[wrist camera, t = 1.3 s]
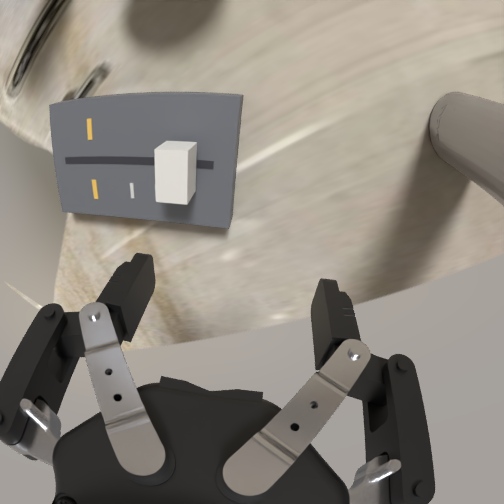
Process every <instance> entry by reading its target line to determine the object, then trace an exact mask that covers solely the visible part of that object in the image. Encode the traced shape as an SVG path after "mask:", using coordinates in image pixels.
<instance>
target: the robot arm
mask: <svg viewBox="0 0 504 504" xmlns="http://www.w3.org/2000/svg"><path fill="white" fill-rule="evenodd" d="M429 129H430V138H431V142H432V145H433V147H434V149H435V151H436V152H437V154H438V155H439V156H440V157H441V158H442V160H444V161H445V162H447V163H448V164H450V165H451V166H453V167H454V168H455V169H457V170H458V171H460V172H461V173H462V174H464V175H465V176H466V177H468V178H469V179H470V180H472V181H473V182H474V183H476V184H477V185H478V186H480V187H481V188H482V189H484V190H485V191H486V192H487V193H489V194H490V195H491V196H492V197H494V198H495V199H496V200H497V201H498V202H500V203H501V204H502V205H503V206H504V104H501V103H498V102H494V101H491V100H488V99H484V98H481V97H477V96H473V95H469V94H465V93H460V92H452V93H449V94H446V95H445V96H444V97H442V98H441V99H440V100H439V101H438V102H437V103H436V105H435V107H434V109H433V111H432V114H431V117H430V125H429ZM154 288H155V273H154V264H153V257H152V255H149V254H142V253H136V254H135V255H134V257H133V259H132V260H131V262H124V263H123V264H122V265H120V266H119V267H118V268H117V269H116V271H115V272H114V274H113V276H112V277H111V278H110V280H109V282H108V283H107V285H106V286H105V288H104V289H103V291H102V293H101V294H100V296H99V297H98V299H97V301H96V302H93V303H89V304H87V305H85V306H84V307H83V308H82V309H81V311H80V312H64V311H63V308H62V307H61V306H60V305H59V304H55V303H52V304H48V305H46V306H44V307H43V308H41V309H40V311H39V312H38V314H37V315H36V317H35V319H34V320H33V322H32V324H31V325H30V327H29V329H28V330H27V332H26V334H25V336H24V337H23V339H22V341H21V343H20V345H19V346H18V348H17V350H16V352H15V354H14V355H13V357H12V359H11V361H10V363H9V365H8V367H7V369H6V371H5V373H4V375H3V377H2V380H1V381H0V440H1V441H2V442H3V443H5V444H6V445H7V446H9V447H10V448H12V449H13V450H15V451H16V452H18V453H20V454H22V455H24V456H26V457H27V458H29V459H31V460H40V461H42V462H44V463H46V464H49V465H51V466H53V468H54V473H55V480H56V493H55V498H54V501H53V503H52V504H428V503H429V502H430V501H431V500H432V498H433V496H434V493H435V480H434V470H433V461H432V452H431V445H430V438H429V432H428V426H427V420H426V415H425V410H424V405H423V400H422V395H421V391H420V386H419V381H418V377H417V373H416V369H415V366H414V363H413V362H412V361H411V359H409V358H408V357H407V356H405V355H402V354H395V355H393V356H391V357H390V358H389V359H388V360H387V359H384V358H381V357H378V356H375V355H373V354H371V353H370V350H369V348H368V347H367V345H366V344H364V343H363V342H361V339H360V334H359V330H358V326H357V322H356V317H355V313H354V310H353V305H352V301H351V299H350V298H349V296H348V295H347V294H346V292H340V291H339V288H338V284H337V281H336V280H330V279H322V278H321V279H320V281H319V283H318V286H317V289H316V292H315V295H314V298H313V301H312V305H311V322H312V332H313V343H314V355H315V368H316V370H320V371H319V372H316V373H315V374H314V375H313V376H312V377H311V378H310V379H309V380H308V381H307V383H306V384H305V385H304V386H303V387H302V388H301V389H300V390H299V392H298V393H297V394H296V395H295V396H294V397H293V398H292V399H291V400H290V401H289V402H288V404H287V405H286V406H285V407H284V408H283V409H281V408H279V407H278V406H276V405H275V404H273V403H271V402H269V401H267V400H264V399H262V397H263V392H257V391H248V390H240V389H235V390H222V391H208V390H206V389H203V388H201V387H198V386H196V385H194V384H191V383H189V382H187V381H183V380H177V379H173V378H168V377H163V376H161V379H160V383H151V384H147V385H143V386H140V387H138V388H136V386H135V383H134V381H133V378H132V376H131V373H130V371H129V368H128V366H127V363H126V361H125V358H124V355H123V352H122V349H121V344H122V341H123V340H124V341H128V342H131V341H132V338H133V336H134V334H135V331H136V329H137V327H138V325H139V322H140V320H141V318H142V316H143V313H144V311H145V309H146V307H147V305H148V302H149V300H150V298H151V296H152V294H153V292H154ZM80 357H85V358H86V362H87V366H88V369H89V374H90V377H91V381H92V384H93V388H94V391H95V395H96V398H97V401H98V404H99V407H100V410H101V412H99V413H97V414H96V415H94V416H93V417H91V418H90V419H88V420H86V421H85V422H83V423H82V424H80V425H79V426H77V427H75V428H74V429H72V430H70V431H69V432H67V433H66V434H64V435H63V436H62V437H60V434H61V432H60V430H61V422H60V419H59V418H58V416H57V413H58V411H59V408H60V405H61V402H62V400H63V397H64V394H65V392H66V389H67V387H68V384H69V382H70V379H71V376H72V374H73V372H74V369H75V367H76V364H77V362H78V360H79V358H80ZM346 395H347V396H350V397H353V398H356V399H359V400H362V403H363V415H364V428H365V429H364V430H365V449H366V464H364V465H362V466H361V467H360V468H359V469H358V470H357V472H356V474H355V478H354V482H353V485H352V486H351V488H350V489H349V490H348V489H347V487H346V485H345V483H344V482H343V481H342V480H341V479H340V477H339V476H338V475H337V474H336V473H335V472H334V471H333V469H332V468H331V467H330V466H329V465H328V464H327V462H325V460H324V459H323V458H322V457H321V456H320V454H319V453H318V452H317V451H316V450H315V448H314V447H313V446H312V445H311V441H312V440H313V439H314V438H315V437H316V435H317V434H318V433H319V432H320V430H321V429H322V428H323V426H324V425H325V424H326V422H327V421H328V420H329V419H330V417H331V416H332V415H333V413H334V412H335V410H336V409H337V408H338V407H339V405H340V404H341V402H342V401H343V400H344V398H345V397H346Z"/></svg>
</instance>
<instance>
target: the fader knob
mask: <svg viewBox="0 0 504 504" xmlns="http://www.w3.org/2000/svg"><path fill="white" fill-rule="evenodd" d="M154 153H155V189H156V202H163V203H174V204H185V205H187V204H188V203H189V201H190V199H191V198H192V196H193V194H194V193H195V191H196V157H197V142H185V141H166V142H164V143H163V144H161V145H160V146H158V147H157V148H156V149H154Z"/></svg>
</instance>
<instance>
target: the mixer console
mask: <svg viewBox="0 0 504 504" xmlns="http://www.w3.org/2000/svg"><path fill="white" fill-rule="evenodd" d="M242 104H243V95H239V94H225V93H205V92H147V93H128V94H115V95H104V96H95V97H87V98H79V99H72V100H66V101H62V102H58V103H55V104H51V105H49V106H50V125H51V137H52V147H53V156H54V164H55V171H56V178H57V184H58V189H59V195H60V200H61V206H62V211H63V212H69V213H81V214H92V215H103V216H114V217H125V218H135V219H145V220H155V221H165V222H174V223H183V224H193V225H202V226H211V227H219V228H228V229H229V227H230V223H231V220H232V216H233V203H234V191H235V179H236V167H237V156H238V145H239V134H240V124H241V114H242ZM166 141H185V142H197V157H196V191H195V193H194V194H193V196H192V198H191V199H190V201H189V203H188V204H187V205H185V204H174V203H163V202H156V189H155V153H154V149H156V148H157V147H158V146H160V145H161V144H163V143H164V142H166Z"/></svg>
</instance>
